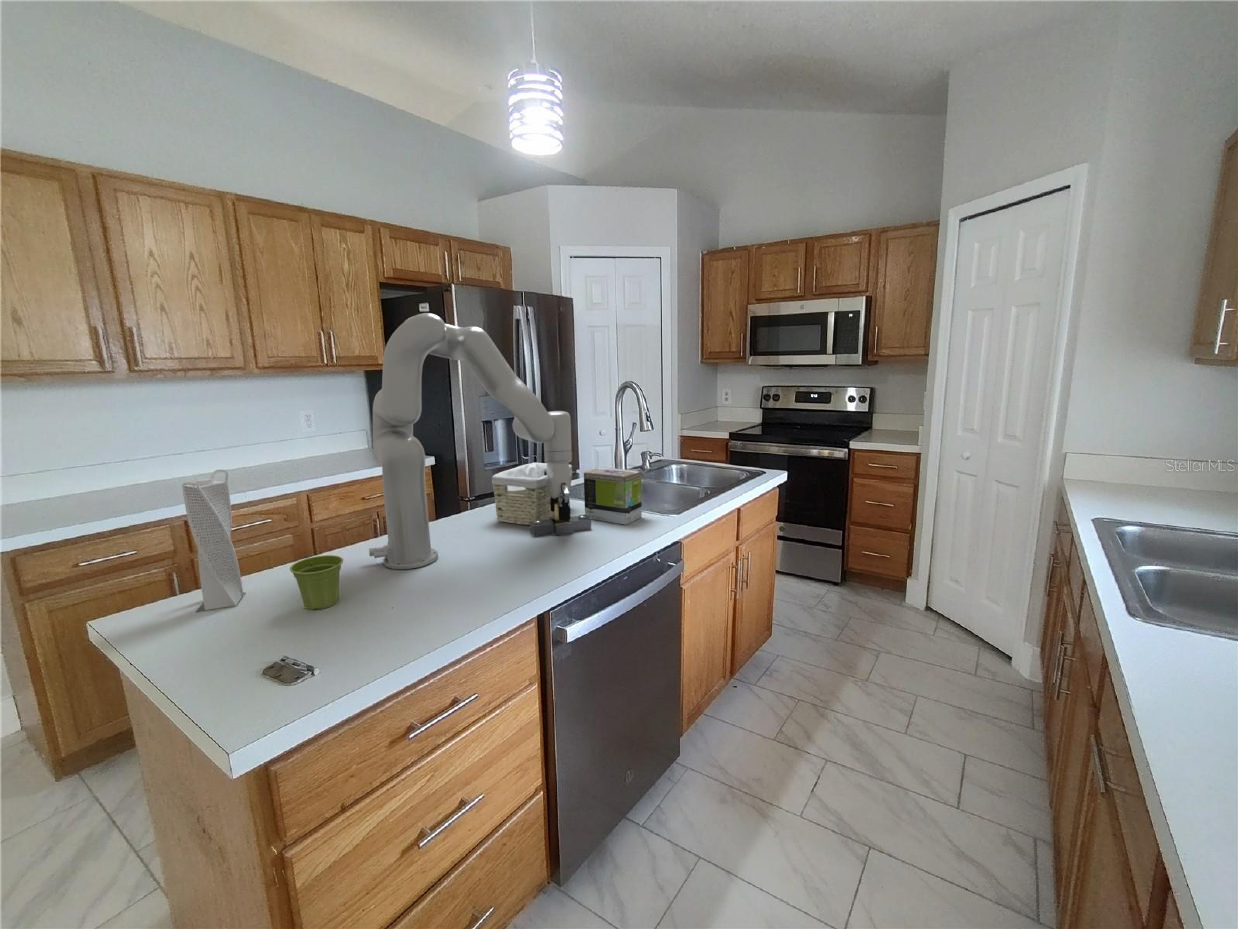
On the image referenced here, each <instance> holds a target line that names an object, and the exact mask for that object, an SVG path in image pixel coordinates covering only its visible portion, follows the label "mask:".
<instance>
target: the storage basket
mask: <svg viewBox="0 0 1238 929" xmlns="http://www.w3.org/2000/svg"><path fill="white" fill-rule="evenodd" d="M569 469H570V470H569V471H570V488H571V486H572V477H573V465H572V464H569ZM545 473H547V463H546V462H544V463H543V462H532V463H527V464H522V465H519V466H516V467H513V468H510V469H507V470H504V471H500V472H498V473H495V474H494V475H492V477H491V479H492V480H491V484H492V490H493V494H494V505H495V509H496V510H495V513H496V520H497V521H499V522H502V523H510V524H517V525H525V526H530V521H534V520H545V519H549V517H555V515H554V511H553V512H552V511H551V508H550V498H551V497H550V495H549V494H548V493H547V489H546V475H545ZM570 498H571V495H570V496H569V499H570ZM561 502H562V499H561ZM569 502H570V503H571V501H569Z"/></svg>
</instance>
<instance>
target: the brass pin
mask: <svg viewBox="0 0 1238 929" xmlns="http://www.w3.org/2000/svg"><path fill="white" fill-rule="evenodd" d="M558 506H559V502H556V503H554V515H555V516H554V517H555V523H563V522H566V520H563V521H560V520H559V515H558Z"/></svg>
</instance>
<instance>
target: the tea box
mask: <svg viewBox="0 0 1238 929" xmlns="http://www.w3.org/2000/svg"><path fill="white" fill-rule="evenodd" d="M583 489H584V490H583V491H584V492H583V494H584V515H587V516H588V517H589V518H590V519H591V520H596V521H600V522H601V521H602V522H607V523H614V524H621V525H629V524H631V523H633V522H635V521H638V520H639V519H641V518H642V516H643V514H642V512H643V511H642V509H643V506H642V505H643V504H642V503H643V501H642V497H643V496H642V494H643V493H642V471H641V470H636V469H635V470H634V469H632V470H631V469H625V468H624V469H623V468H614V467H604V466H601V467H598V468H593V469H591V470H587V471H584V472H583Z"/></svg>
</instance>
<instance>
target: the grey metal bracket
mask: <svg viewBox="0 0 1238 929" xmlns="http://www.w3.org/2000/svg"><path fill="white" fill-rule="evenodd" d="M590 530H592V519H590V518H589V517H588V516H587V515H585V514H579V515H573V516H570V520H566V522H563V523H555V516H553V517H549V519H545V520H534V521H530V525H529V532H530V533H531V535H532V537H542V536H550V534H551V535H555V534H556V535H555V536H556V537H558V536H559V535H560V536H566V535H567V534H568V535H573V533H574V532H581V531H582V532H583V531H590Z"/></svg>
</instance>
